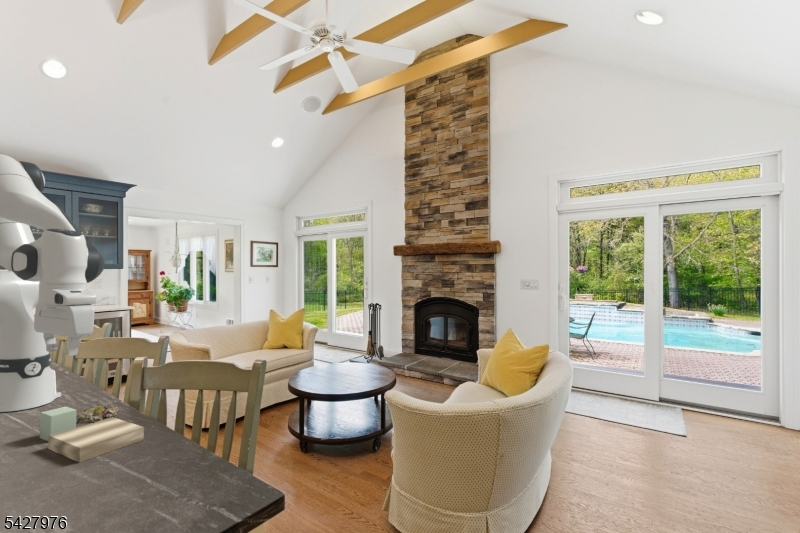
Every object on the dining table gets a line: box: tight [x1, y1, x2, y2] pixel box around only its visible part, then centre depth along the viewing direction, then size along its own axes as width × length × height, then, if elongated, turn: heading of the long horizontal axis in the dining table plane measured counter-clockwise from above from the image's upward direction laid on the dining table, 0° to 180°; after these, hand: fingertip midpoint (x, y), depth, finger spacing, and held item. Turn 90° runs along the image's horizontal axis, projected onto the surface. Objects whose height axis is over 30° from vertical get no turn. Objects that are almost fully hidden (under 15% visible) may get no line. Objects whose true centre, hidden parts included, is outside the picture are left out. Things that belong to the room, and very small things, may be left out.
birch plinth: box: [47, 416, 145, 463], centre depth 91 cm, size 13×13×3 cm
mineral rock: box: [76, 404, 120, 425], centre depth 106 cm, size 11×4×8 cm
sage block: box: [39, 406, 78, 442], centre depth 95 cm, size 5×5×6 cm
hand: (61, 353), depth 95 cm, fingers open, 8 cm apart
